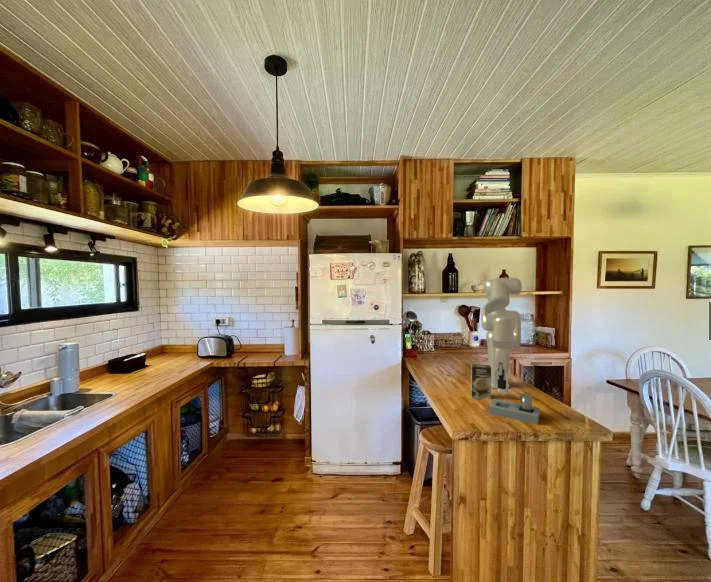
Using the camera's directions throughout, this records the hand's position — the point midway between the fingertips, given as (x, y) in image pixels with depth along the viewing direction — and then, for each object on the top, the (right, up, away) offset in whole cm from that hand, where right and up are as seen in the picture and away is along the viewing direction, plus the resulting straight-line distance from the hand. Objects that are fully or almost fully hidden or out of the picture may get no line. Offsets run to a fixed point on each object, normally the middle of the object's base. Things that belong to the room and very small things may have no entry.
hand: (502, 387), depth 131 cm
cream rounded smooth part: (0, -2, 0) cm, 2 cm away
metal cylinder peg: (+8, -11, -5) cm, 14 cm away
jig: (+4, -12, -2) cm, 13 cm away
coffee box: (-1, -12, +20) cm, 24 cm away
